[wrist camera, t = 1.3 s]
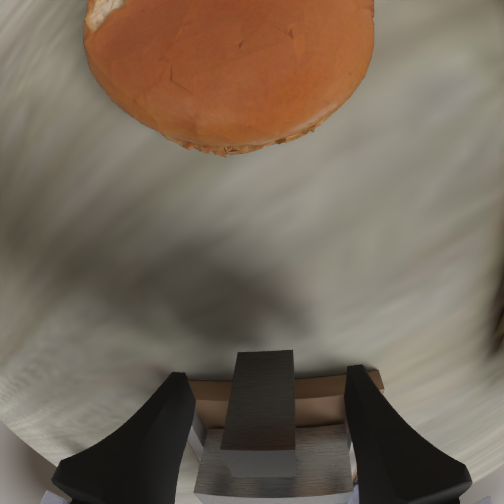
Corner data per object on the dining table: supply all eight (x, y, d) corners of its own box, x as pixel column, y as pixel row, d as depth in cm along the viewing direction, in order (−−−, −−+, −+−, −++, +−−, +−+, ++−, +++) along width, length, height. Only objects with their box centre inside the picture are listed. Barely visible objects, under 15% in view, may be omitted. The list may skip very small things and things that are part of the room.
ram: (340, 447, 16) (346, 512, 11) (218, 450, 16) (206, 513, 12) (357, 343, 12) (382, 438, 7) (178, 352, 13) (142, 440, 8)
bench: (349, 473, 21) (354, 522, 16) (221, 477, 22) (213, 524, 17) (378, 369, 15) (401, 449, 10) (172, 379, 16) (144, 453, 11)
